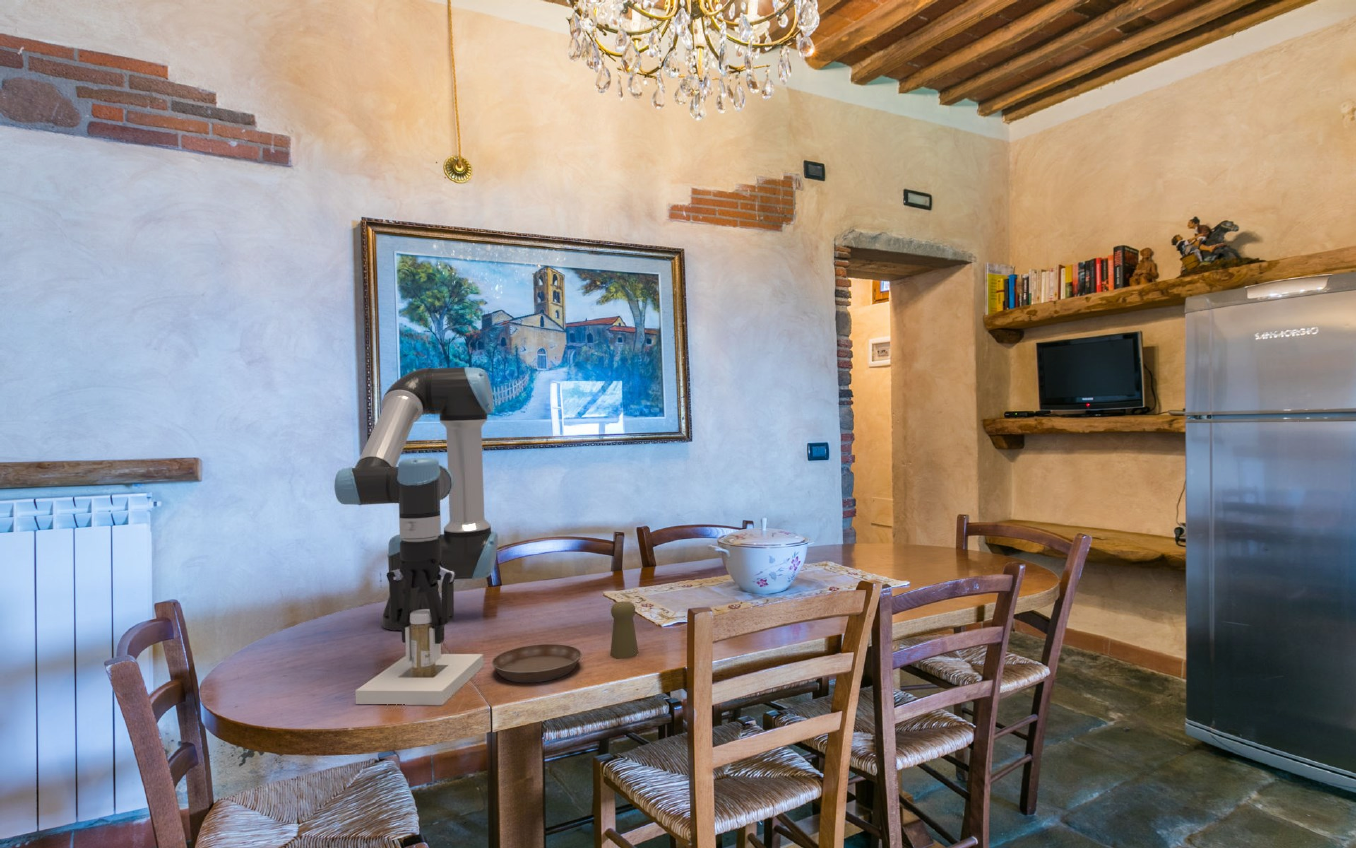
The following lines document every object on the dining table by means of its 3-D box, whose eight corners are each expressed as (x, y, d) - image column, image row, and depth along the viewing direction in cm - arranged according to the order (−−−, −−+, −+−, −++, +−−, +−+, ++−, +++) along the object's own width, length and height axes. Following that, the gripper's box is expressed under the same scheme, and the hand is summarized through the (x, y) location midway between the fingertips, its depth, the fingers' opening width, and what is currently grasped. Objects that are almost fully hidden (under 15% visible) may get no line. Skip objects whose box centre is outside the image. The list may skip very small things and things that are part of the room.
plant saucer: (486, 665, 145) (486, 650, 145) (569, 652, 152) (569, 638, 152) (499, 694, 128) (499, 677, 128) (592, 678, 135) (592, 662, 135)
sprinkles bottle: (433, 684, 132) (432, 613, 132) (408, 686, 131) (407, 615, 131) (438, 676, 136) (437, 607, 136) (414, 677, 136) (413, 609, 136)
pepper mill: (616, 660, 145) (615, 607, 145) (605, 652, 150) (604, 601, 150) (643, 655, 147) (641, 603, 147) (631, 647, 153) (630, 597, 153)
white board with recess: (408, 666, 144) (408, 654, 144) (483, 666, 143) (483, 654, 143) (355, 704, 125) (355, 690, 125) (442, 705, 123) (441, 691, 123)
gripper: (367, 541, 132) (370, 664, 132) (452, 541, 129) (455, 668, 129) (390, 535, 139) (393, 651, 139) (471, 535, 136) (474, 654, 136)
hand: (423, 659), depth 134 cm, fingers closed on sprinkles bottle, 4 cm apart
